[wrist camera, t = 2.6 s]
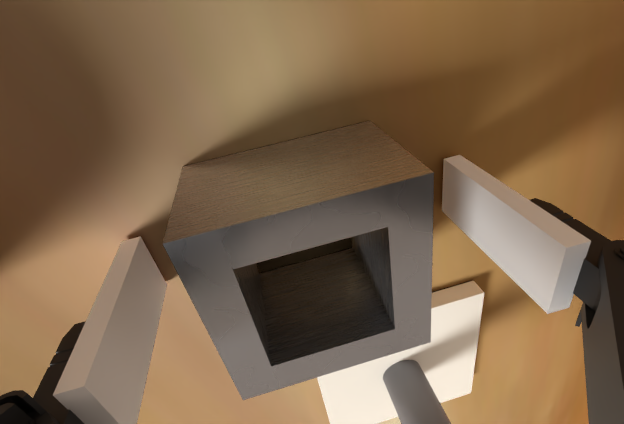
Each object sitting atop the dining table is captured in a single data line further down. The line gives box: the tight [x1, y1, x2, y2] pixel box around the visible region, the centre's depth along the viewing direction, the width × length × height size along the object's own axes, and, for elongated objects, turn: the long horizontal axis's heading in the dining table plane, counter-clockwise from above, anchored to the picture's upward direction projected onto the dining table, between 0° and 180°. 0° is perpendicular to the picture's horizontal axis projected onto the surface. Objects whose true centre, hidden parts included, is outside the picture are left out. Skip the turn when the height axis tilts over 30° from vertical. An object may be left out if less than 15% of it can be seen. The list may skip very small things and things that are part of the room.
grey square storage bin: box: [163, 121, 434, 400], centre depth 13 cm, size 7×7×5 cm
